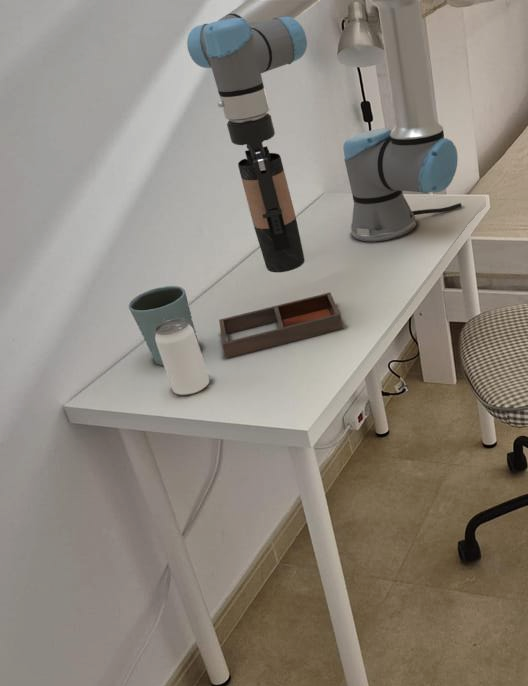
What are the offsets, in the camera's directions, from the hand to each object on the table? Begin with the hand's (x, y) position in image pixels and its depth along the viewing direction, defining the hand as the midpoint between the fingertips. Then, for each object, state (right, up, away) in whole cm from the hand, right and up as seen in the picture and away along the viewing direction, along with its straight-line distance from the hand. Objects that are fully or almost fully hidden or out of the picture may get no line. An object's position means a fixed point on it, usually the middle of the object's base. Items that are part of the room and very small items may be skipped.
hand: (279, 241), depth 159 cm
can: (-14, -27, -7) cm, 31 cm away
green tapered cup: (-21, -21, +5) cm, 30 cm away
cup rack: (-1, -16, +8) cm, 18 cm away
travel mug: (+1, -4, +2) cm, 5 cm away
